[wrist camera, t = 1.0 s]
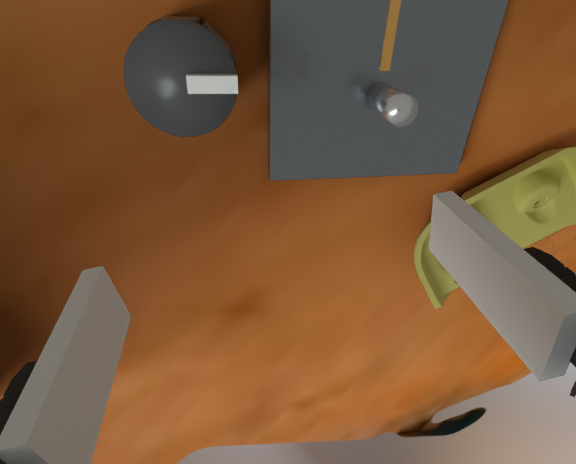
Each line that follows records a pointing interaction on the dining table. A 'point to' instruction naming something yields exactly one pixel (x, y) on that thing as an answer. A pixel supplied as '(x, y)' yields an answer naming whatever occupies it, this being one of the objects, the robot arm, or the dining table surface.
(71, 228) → the dining table surface
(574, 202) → the plastic component
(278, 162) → the hub plate
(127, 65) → the knob
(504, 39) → the dining table surface
